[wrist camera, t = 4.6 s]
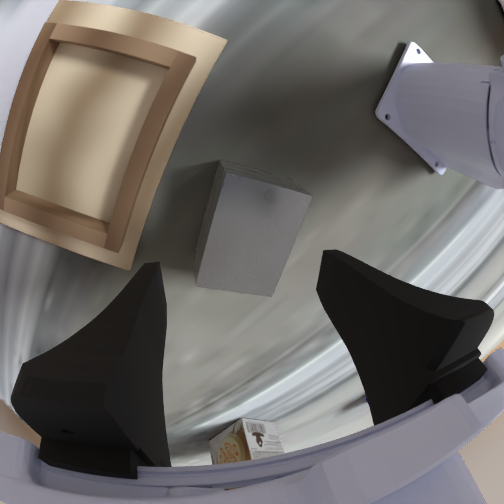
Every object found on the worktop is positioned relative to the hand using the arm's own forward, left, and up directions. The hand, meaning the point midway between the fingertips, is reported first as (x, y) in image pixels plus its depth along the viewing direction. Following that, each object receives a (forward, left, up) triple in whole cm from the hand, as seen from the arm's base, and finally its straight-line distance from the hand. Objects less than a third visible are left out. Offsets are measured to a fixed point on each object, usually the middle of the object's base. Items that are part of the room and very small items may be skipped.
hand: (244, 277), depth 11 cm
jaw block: (-2, 0, -9) cm, 9 cm away
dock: (+10, -2, -8) cm, 14 cm away
